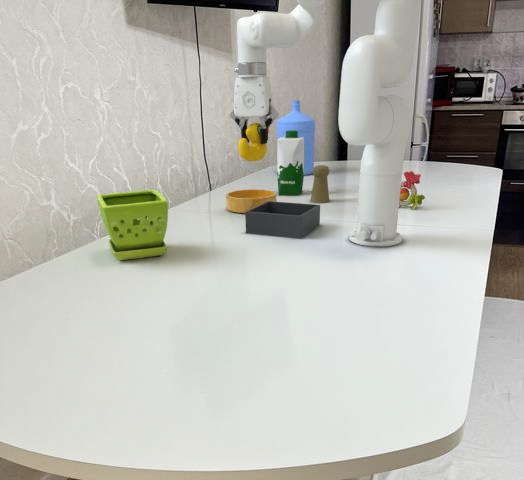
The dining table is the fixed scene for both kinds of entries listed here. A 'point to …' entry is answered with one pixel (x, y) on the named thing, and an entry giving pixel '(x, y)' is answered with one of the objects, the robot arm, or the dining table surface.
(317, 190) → the cork
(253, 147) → the duckling
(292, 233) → the bin
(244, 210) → the bowl
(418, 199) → the bird rattle
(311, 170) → the water jug
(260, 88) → the robot arm
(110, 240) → the flower pot
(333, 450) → the dining table surface
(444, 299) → the dining table surface
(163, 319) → the dining table surface
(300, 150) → the milk carton
